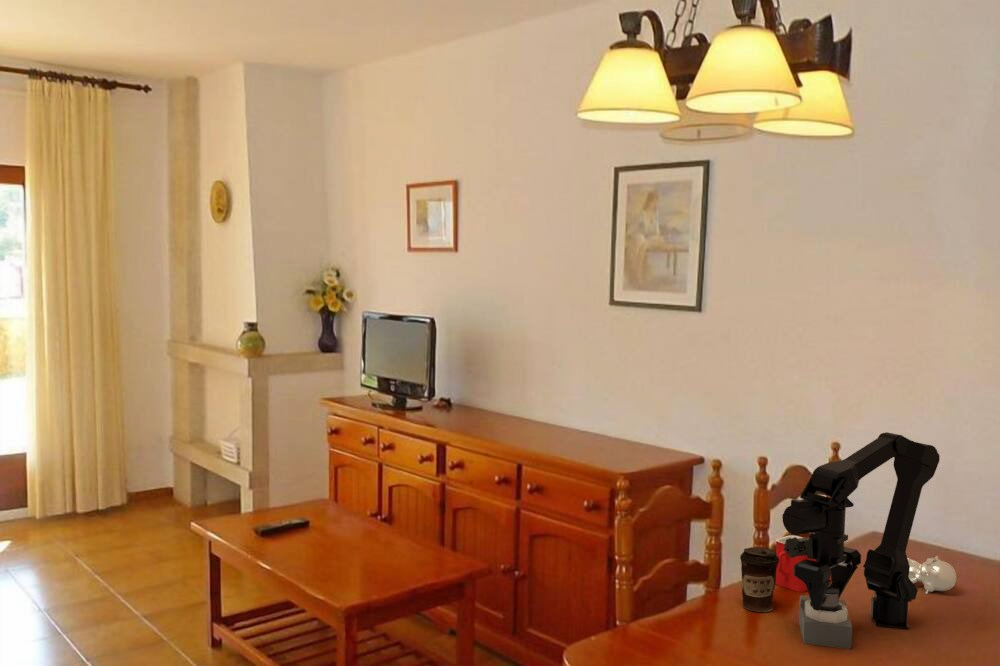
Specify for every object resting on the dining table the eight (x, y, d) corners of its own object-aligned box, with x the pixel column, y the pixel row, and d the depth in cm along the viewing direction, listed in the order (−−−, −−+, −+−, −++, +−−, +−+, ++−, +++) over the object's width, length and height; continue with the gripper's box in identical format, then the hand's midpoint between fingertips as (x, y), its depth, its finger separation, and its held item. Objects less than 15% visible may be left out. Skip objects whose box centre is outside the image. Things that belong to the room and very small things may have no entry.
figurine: (891, 544, 220) (952, 548, 209) (904, 562, 223) (966, 567, 212) (880, 581, 215) (942, 587, 203) (893, 598, 218) (956, 605, 206)
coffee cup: (779, 617, 192) (781, 558, 191) (739, 613, 194) (741, 554, 193) (775, 602, 201) (777, 546, 200) (737, 599, 202) (739, 543, 201)
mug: (789, 577, 219) (791, 534, 218) (820, 586, 212) (822, 542, 212) (762, 587, 211) (763, 543, 210) (793, 597, 205) (795, 551, 204)
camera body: (843, 626, 188) (845, 596, 187) (851, 649, 176) (852, 617, 176) (798, 621, 190) (800, 591, 189) (803, 643, 178) (804, 611, 178)
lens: (820, 609, 185) (821, 581, 185) (841, 615, 182) (843, 586, 181) (810, 615, 182) (811, 586, 181) (831, 621, 178) (833, 592, 178)
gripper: (812, 513, 193) (809, 583, 194) (770, 529, 180) (767, 604, 181) (863, 524, 185) (860, 597, 186) (823, 541, 172) (820, 620, 173)
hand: (826, 604), depth 182 cm, fingers open, 9 cm apart
